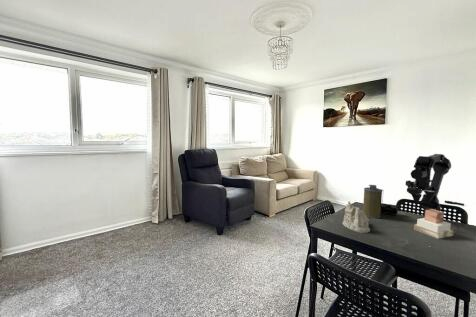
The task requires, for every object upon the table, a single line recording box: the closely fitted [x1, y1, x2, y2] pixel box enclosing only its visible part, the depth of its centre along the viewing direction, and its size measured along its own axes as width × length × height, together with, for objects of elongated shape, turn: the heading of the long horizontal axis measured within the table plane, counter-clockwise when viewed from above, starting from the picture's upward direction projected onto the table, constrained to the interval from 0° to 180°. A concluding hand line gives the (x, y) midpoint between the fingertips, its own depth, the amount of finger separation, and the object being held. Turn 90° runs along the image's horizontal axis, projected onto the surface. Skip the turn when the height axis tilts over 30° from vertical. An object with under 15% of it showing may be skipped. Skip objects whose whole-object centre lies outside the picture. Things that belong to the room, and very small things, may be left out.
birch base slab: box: [413, 223, 455, 240], centre depth 127 cm, size 12×12×4 cm
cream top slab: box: [416, 217, 451, 232], centre depth 126 cm, size 10×10×4 cm
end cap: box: [380, 202, 399, 218], centre depth 155 cm, size 10×7×7 cm
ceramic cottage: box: [342, 200, 371, 234], centre depth 135 cm, size 16×16×15 cm
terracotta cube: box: [425, 209, 445, 223], centre depth 126 cm, size 6×6×6 cm
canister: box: [362, 184, 384, 219], centre depth 152 cm, size 11×10×20 cm
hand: (421, 203), depth 138 cm, fingers open, 9 cm apart
